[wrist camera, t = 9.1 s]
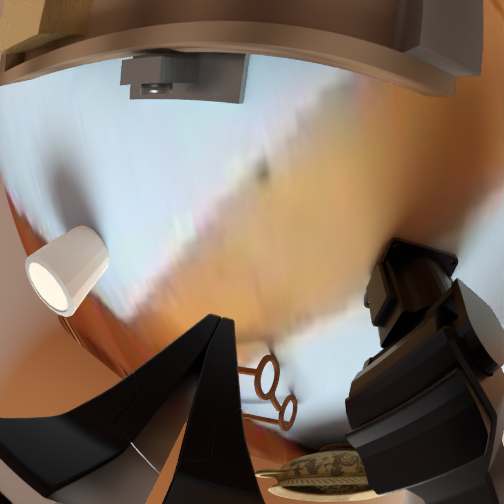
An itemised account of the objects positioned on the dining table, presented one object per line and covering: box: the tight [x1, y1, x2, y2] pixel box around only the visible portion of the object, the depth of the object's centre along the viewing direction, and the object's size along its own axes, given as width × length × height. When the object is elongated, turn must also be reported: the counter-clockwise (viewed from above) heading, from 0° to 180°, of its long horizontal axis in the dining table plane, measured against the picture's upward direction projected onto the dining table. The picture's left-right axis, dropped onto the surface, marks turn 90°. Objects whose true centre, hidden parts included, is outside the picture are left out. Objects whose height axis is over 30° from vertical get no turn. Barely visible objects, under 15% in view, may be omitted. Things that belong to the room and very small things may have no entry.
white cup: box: [25, 226, 109, 317], centre depth 23 cm, size 7×7×7 cm
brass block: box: [0, 0, 94, 55], centre depth 7 cm, size 6×6×4 cm
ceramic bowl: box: [255, 443, 383, 501], centre depth 36 cm, size 30×24×10 cm
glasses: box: [238, 355, 297, 431], centre depth 31 cm, size 13×13×5 cm
